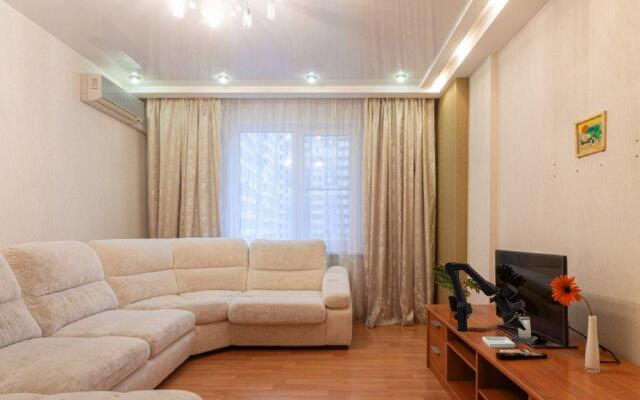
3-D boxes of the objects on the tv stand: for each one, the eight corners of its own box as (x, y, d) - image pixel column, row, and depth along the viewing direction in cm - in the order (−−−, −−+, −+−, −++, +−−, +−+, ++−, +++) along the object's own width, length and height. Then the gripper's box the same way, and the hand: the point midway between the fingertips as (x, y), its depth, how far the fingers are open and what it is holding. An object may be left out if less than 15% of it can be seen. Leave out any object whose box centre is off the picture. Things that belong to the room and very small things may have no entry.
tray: (482, 340, 203) (482, 336, 203) (506, 340, 202) (506, 336, 202) (490, 347, 191) (489, 343, 191) (515, 348, 190) (515, 343, 190)
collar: (512, 341, 200) (512, 337, 200) (518, 337, 207) (518, 333, 207) (531, 345, 193) (531, 341, 194) (537, 341, 200) (537, 337, 200)
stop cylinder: (517, 339, 203) (515, 315, 204) (528, 339, 202) (527, 315, 203) (521, 343, 198) (520, 318, 198) (533, 343, 197) (531, 318, 198)
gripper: (507, 297, 198) (532, 323, 189) (520, 292, 211) (544, 316, 202) (493, 311, 203) (516, 336, 194) (506, 305, 216) (529, 328, 207)
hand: (527, 328), depth 199 cm, fingers closed on stop cylinder, 5 cm apart
